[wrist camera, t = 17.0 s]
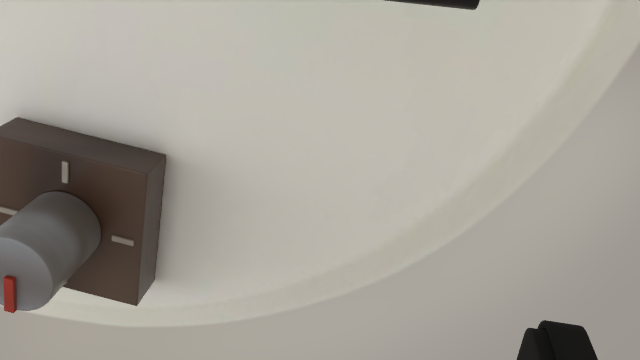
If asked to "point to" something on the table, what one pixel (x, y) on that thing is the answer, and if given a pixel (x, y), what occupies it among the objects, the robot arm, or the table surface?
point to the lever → (445, 3)
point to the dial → (44, 249)
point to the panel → (91, 199)
